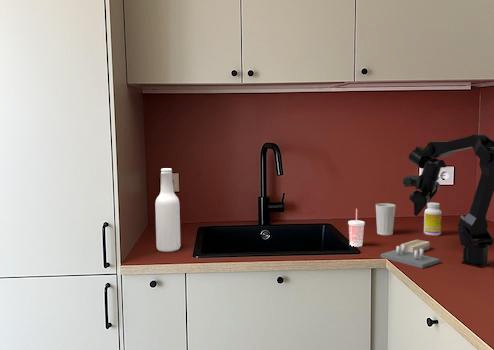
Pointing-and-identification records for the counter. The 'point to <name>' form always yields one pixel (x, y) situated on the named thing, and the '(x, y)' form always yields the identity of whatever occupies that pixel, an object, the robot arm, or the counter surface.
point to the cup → (385, 218)
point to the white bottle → (167, 215)
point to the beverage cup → (356, 232)
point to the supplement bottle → (432, 219)
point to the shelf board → (415, 245)
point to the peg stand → (410, 257)
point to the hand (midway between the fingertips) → (419, 211)
